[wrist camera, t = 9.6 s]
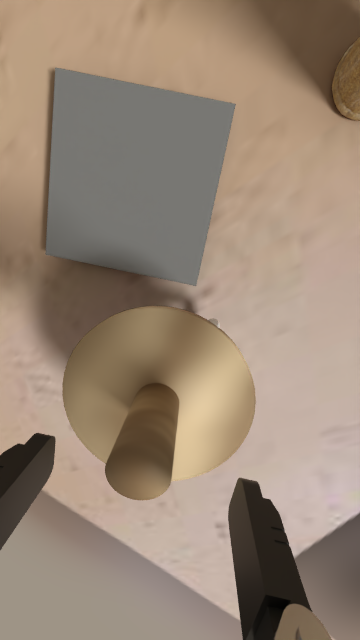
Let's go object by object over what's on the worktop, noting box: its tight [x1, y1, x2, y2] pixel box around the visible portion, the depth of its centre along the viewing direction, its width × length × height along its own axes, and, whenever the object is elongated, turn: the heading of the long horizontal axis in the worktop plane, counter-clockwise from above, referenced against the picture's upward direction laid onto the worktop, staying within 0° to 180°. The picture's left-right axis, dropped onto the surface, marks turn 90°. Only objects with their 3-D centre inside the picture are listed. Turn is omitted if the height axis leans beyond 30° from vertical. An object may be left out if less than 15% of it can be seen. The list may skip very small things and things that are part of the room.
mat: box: [46, 68, 236, 286], centre depth 17 cm, size 12×12×1 cm
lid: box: [63, 306, 256, 500], centre depth 13 cm, size 12×12×6 cm
